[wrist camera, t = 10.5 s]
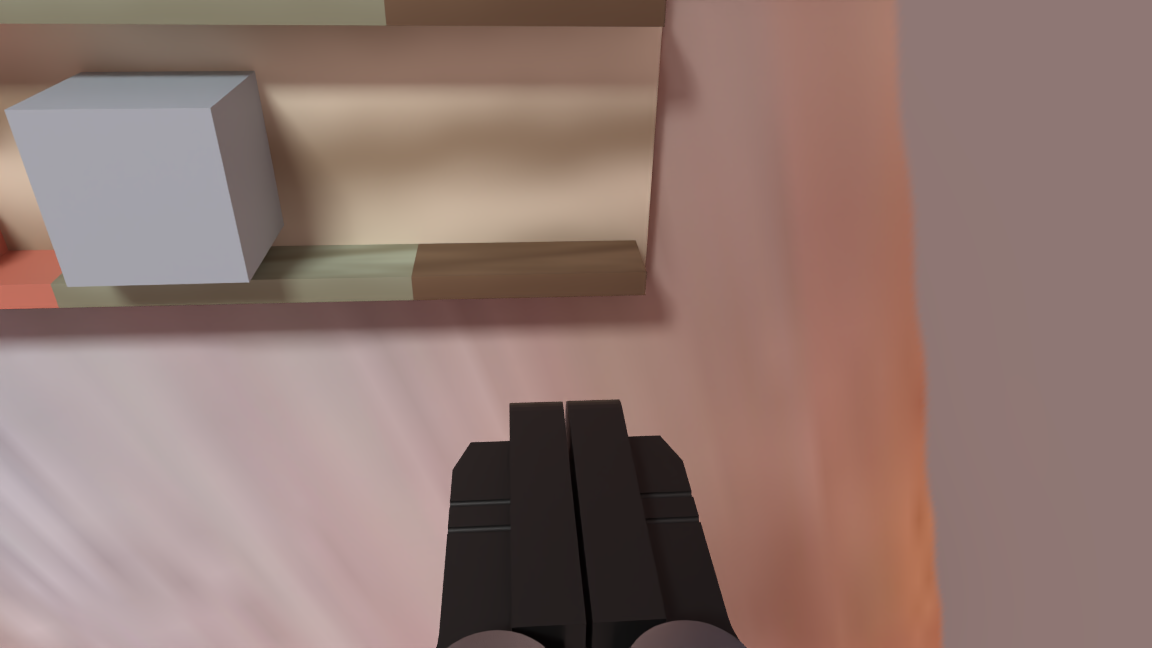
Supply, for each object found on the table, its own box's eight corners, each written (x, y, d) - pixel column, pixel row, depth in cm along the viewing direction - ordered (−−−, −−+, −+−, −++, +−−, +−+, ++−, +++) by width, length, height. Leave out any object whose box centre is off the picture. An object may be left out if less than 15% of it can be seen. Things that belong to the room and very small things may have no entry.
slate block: (81, 71, 28) (4, 109, 24) (254, 71, 28) (210, 108, 24) (127, 228, 31) (67, 286, 27) (284, 224, 31) (249, 282, 27)
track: (-276, -81, 26) (-397, -73, 22) (663, -67, 28) (685, -58, 25) (-97, 297, 33) (-168, 348, 29) (640, 281, 35) (655, 327, 32)
